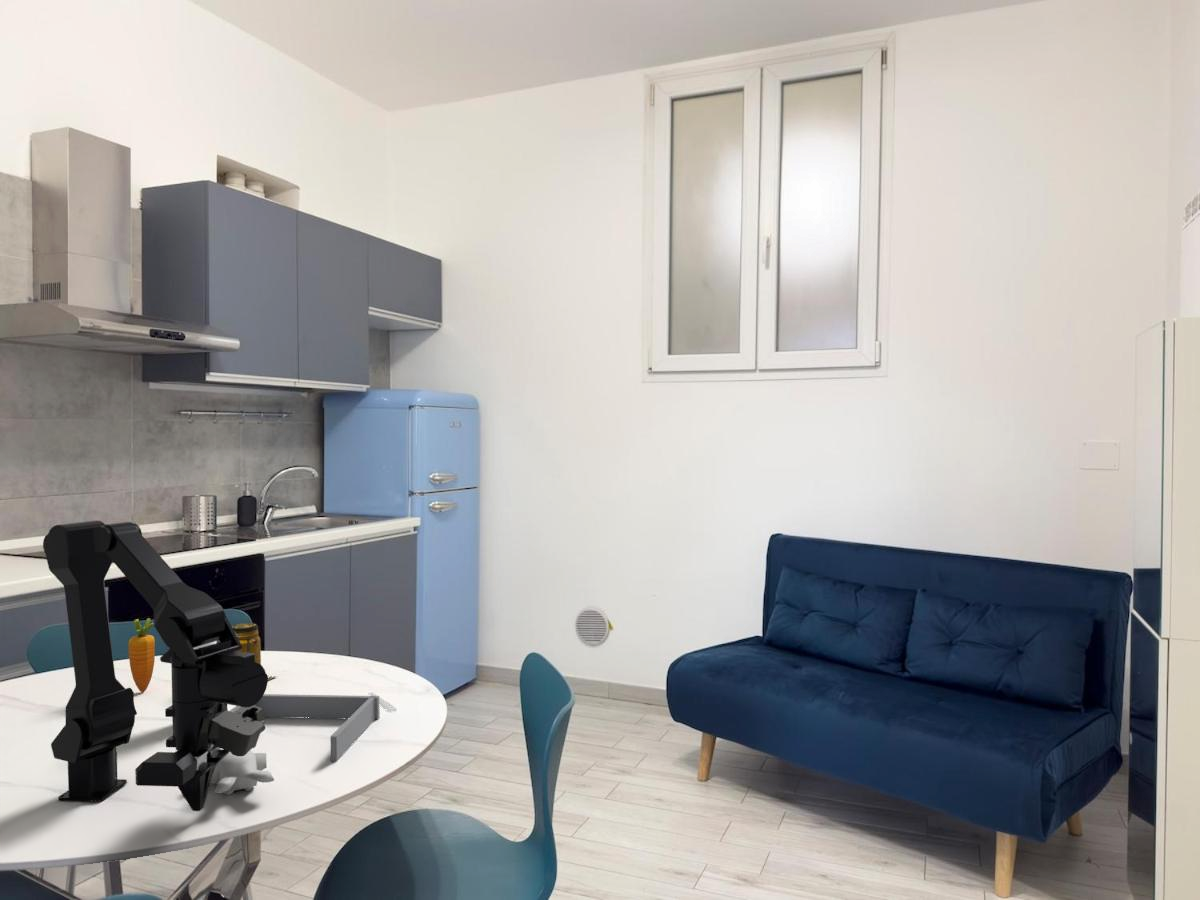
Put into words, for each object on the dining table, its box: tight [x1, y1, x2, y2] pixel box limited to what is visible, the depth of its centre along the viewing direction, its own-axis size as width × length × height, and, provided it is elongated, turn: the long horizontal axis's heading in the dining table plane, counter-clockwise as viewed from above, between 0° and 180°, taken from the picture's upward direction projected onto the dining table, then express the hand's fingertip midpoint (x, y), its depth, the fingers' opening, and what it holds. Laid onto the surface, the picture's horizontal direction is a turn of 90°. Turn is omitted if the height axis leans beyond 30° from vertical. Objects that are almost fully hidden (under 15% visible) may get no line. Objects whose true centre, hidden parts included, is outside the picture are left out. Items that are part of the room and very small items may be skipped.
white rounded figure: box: [210, 750, 275, 796], centre depth 127 cm, size 10×5×15 cm
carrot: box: [128, 617, 156, 693], centre depth 171 cm, size 5×5×15 cm
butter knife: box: [367, 692, 397, 712], centre depth 171 cm, size 1×27×3 cm
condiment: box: [231, 622, 278, 681], centre depth 178 cm, size 7×8×12 cm
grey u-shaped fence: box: [229, 693, 381, 762], centre depth 147 cm, size 20×24×4 cm
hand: (197, 809), depth 117 cm, fingers closed
